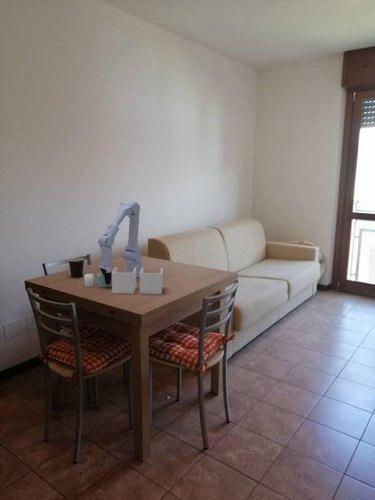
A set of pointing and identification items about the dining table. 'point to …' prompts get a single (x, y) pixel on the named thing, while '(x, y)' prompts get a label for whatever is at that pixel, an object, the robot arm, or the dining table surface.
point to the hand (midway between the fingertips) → (106, 282)
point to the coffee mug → (76, 267)
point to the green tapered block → (102, 281)
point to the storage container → (127, 282)
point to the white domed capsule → (88, 280)
